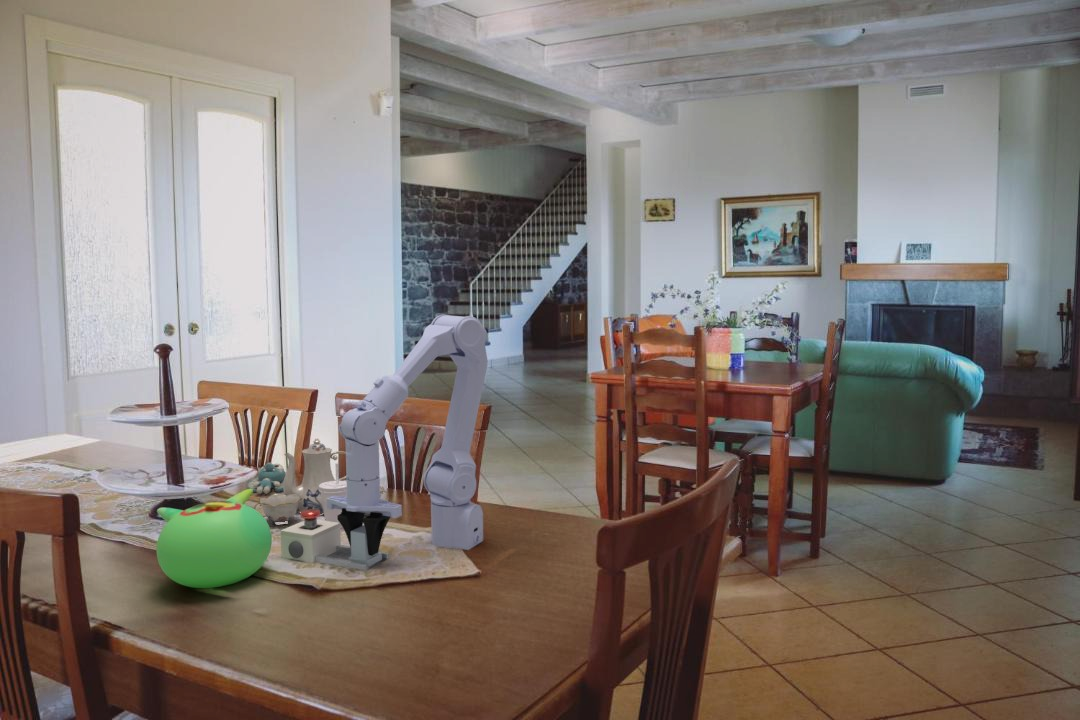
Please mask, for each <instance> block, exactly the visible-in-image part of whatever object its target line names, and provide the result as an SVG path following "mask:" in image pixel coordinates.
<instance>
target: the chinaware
mask: <svg viewBox="0 0 1080 720" xmlns="http://www.w3.org/2000/svg"><path fill="white" fill-rule="evenodd" d="M301 453H302V455H303V459H304V471H303V477H302V481H301V484H300V485H298V486H297V485H296V484H295V483H296V482H295V479H296V478H295V477H296V465H297V463H296V462H297V461H296V459H295V457H294V455H292V454H291V453H290V452H286V453H284V456H285V457H287V460H288V466H287V469H286V471H285V473H286V475H285V479H284V484H283V490H284V491H283V494H282V493H274V494H271V495H269V496H268V497H261V498H259V499H258V502H257V503H256V504H255V505H254V506H253V509H255V510H256V508H257V506H258V505H259V506H260V507H262V510H263V513H264V515H262V516H263V517H264V518H265V517H266V518H267V519H266V521H267V522H270V521H272V522H274V523H275V522H285V521H290V520H291V519H292V518H294V516H295V515H296V513H297V511H298V510H300V512H301V511H303V510H308V509H317V510H320V514H322V513H324V511H323V505H322V499H321V492H320V491H319V485H320V484H321V483H324V482H329V481H336V478H334V475H333V473H332V472H333V471H332V467H331V460H334V461H337V460H338V458H339V457H338V456H337V455H336V454H341V455H345V456H346V451H342V450H339V451H334V452H333V448H330V447H326V446H325V444H324V443H321V440H320V439H319V438H318V437H316V438H315V439H314V440H313V443H311V444H310V445H309V446H308V448H305V449H303V450H301ZM339 481H347V480H346V475H344V476H343V477H339ZM384 493H385V494H386V500H385V501H388V502H389V498H390V495H389V493H388V492H387V491H386V490H385V488H384V487H383V486H381V485H380V499H381V498H382V495H383V494H384ZM364 516H370V514H369V513H365V515H364Z"/></svg>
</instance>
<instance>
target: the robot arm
mask: <svg viewBox="0 0 1080 720" xmlns="http://www.w3.org/2000/svg"><path fill="white" fill-rule="evenodd" d="M487 336H488V332H487V330H486V328H485V327H484V325H483V324H482V323H481V322H480V320H479V319H478V318H476V317H474V316H471V315H465V316H461V315H460V316H459V315H449V314H446V313H445V314H444V313H443V314H439V315H438V316H436V317H435V318H433V320H432V321H431V323H430V324H429V325H427V326H426V327H425V328H424V330H423V334H422V336H421V337H420V339H419V340H418V342H417V343H416V345H415V346H414V347H413V348H412V350H411V351H410V352H409V353H408V355H407V356H406V357H405V358H404V360H403V361H402V363H401V364H400V366H398V368H397V369H396V370H395V372H394V373H393V374H392V375H383V376H382V377H381V378H377V379H375V381H374V382H373V385H374V386H373V388H372V389H371V390H370V391H369V392H368V393H367V394H366V395H365V397H364V398H363V399H362V400H359V401H358V402H357V403H356V408H353V409H350V410H348V411H346V413H344V415H343V416H342V418H341V422H340V424H338V431H339V434H340V436H342V438H343V439H344V441H345V442H344V443H345V452H346V455H345V472H346V473H345V474H346V475H345V476H346V479H345V480H347V497H338V496H333V497H330V498H327V509H331V510H332V509H340V510H342V512H341V514H339V515H338V516H337V519H338V521H339V522H340V524H341V525H342V527H343V528H342V530H344V532H345V535H346V538H347V539H348V543H349V544H348V545H349V546H350V547H351V531H352V530H354V529H357V528H359V527H361V526H363V525H364V526H365V529H366V534H367V547H368V554H369V555H371V556H372V555H374V554H376V553H378V551H380V546H381V542H382V541H381V540H382V537H383V534H384V532H385V529H386V527H387V525H388V522H389V521H390V519H398V518H400V517H402V516H403V511H402V510H403V505H402V504H399V503H394V502H391V501H389V500H388V501H386V500H385V499H381V498H380V486H381V479H380V478H381V477H380V476H381V475H380V447H379V445H380V443H379V442H380V440H381V439H383V437H384V435H385V433H386V426H387V424H388V422H389V420H390V419H391V418H392V416H393V415H395V413H396V412H397V411H398V409H399V408H400V407H401V406H402V404H403V403H404V402H405V401H406V400H407V398H408V397H409V386H410V385H411V384H412V383H413V382H414V381H415V380H416V379H417V378H418V377H419V376H420V375H421V374H422V373H423V372H424V371H425V370H426V369H427V367H429V365H431V364H432V362H433V361H434V360H435V359H436V358H437V357H440V356H445V355H449V357H450V358H451V360H452V361H453V362H454V364H455V365H456V369H457V370H456V372H455V377H454V383H453V388H452V393H451V398H450V402H449V408H448V413H447V417H446V423H445V429H444V433H443V438H442V442H441V447H440V448H439V449H438V450H437V451H436V452H435V453H434V454H433V455H432V456H431V461H430V464H429V466H428V467H427V468H426V470H425V471H424V475H423V479H422V480H423V487H424V488H425V490H426V491H427V492H428V493H429V499H430V517H431V518H430V520H431V523H430V526H431V530H430V531H431V535H430V536H431V545H433V546H435V547H439V548H446V549H447V548H448V549H451V548H452V549H457V550H467V551H470V550H471V549H473V548H474V547H476V546H477V545H479V544H480V543H482V542H483V541H484V511H483V509H482V506H481V505H480V504H477V503H474V502H472V501H471V499H472V498H473V497H474V495H475V493H476V490H477V479H476V470H477V465H476V463H475V461H474V459H473V458H472V455H471V448H472V443H473V439H474V434H475V433H474V432H475V428H476V423H477V419H478V418H477V417H478V412H479V409H480V407H479V406H480V403H481V399H482V393H483V389H484V383H485V377H486V374H487V368H488V355H487V349H486V340H487ZM365 513H369V515H365Z"/></svg>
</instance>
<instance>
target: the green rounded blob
mask: <svg viewBox="0 0 1080 720" xmlns="http://www.w3.org/2000/svg"><path fill="white" fill-rule="evenodd" d="M253 493H254V492H253V489H249V488H247V489H244V490H241V491H240V492H238V493H236V494H235V495H233V496H231V497H229V498H228V499H225V500H220V501H215V502H213V501H212V502H207V503H198V504H196V505H193V506H192V507H189V508H186V509H184V510H183V509H180V508H179V509H178V508H172V507H159V508H157V510H156V512H157V514H158V516H160V517H161V518H162V519H163V520H164V521H165V522H167V523H165V525H164V526H163V528H162V530H161V531H160V534H159V535H158V538H157V542H156V558H157V562H158V565H159V566H160V568H161V571H163V573H164V574H165V575H166V577H168V578H169V579H170V580H171V581H173V582H175V583H177V584H179V585H182V586H185V587H189V588H195V589H213V588H219V587H225V586H229V585H233V584H237V583H239V582H241V581H244V580H245V579H248V578H249V577H250V576H252V575H253V574H255V573H256V572H257V571H258V570H260V569H261V568H262V566H263V565H264V564H265V562H266V561H267V559H268V558H269V555H270V553H271V549H272V543H273V540H272V532H271V528H270V525H269V523H268V521H267V519H266V518H265V517H263V516H264V515H262V514H261V512H259V511H258V510H256V508H255V509H254V507H251V506H249V505H246V503H247V501H248V500H249V499H250V497H251V496H252V494H253Z"/></svg>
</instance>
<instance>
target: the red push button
mask: <svg viewBox="0 0 1080 720" xmlns="http://www.w3.org/2000/svg"><path fill="white" fill-rule="evenodd" d="M319 517H321V515H320V510H317V509H308V510H303V511H301V513H300V518H301V519H303V521H304V527H305V529H307V530H314V529H316V528H317V520H318V518H319Z"/></svg>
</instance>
